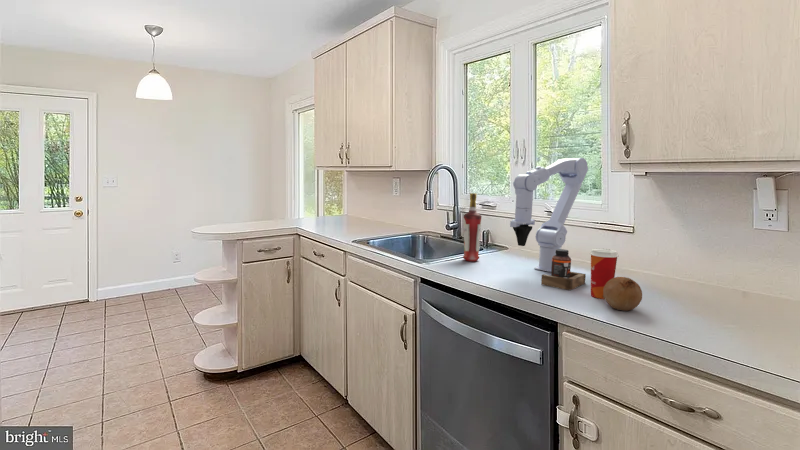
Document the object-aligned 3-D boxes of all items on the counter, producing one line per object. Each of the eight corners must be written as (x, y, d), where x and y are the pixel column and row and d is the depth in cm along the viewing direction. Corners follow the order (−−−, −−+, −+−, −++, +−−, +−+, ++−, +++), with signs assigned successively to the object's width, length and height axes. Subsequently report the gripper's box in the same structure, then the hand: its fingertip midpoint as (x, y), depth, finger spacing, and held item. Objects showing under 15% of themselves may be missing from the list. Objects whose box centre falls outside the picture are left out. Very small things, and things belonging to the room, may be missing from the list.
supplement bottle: (570, 286, 138) (572, 252, 136) (551, 284, 139) (553, 250, 138) (568, 282, 143) (570, 249, 142) (549, 280, 145) (551, 247, 144)
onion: (631, 324, 112) (645, 296, 106) (595, 308, 116) (606, 281, 111) (637, 303, 119) (650, 276, 113) (602, 289, 123) (613, 263, 117)
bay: (557, 278, 148) (557, 269, 148) (585, 283, 142) (585, 274, 141) (541, 284, 139) (541, 275, 139) (570, 290, 133) (570, 280, 132)
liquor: (461, 258, 180) (463, 192, 177) (478, 258, 180) (480, 193, 177) (463, 262, 173) (465, 193, 169) (481, 262, 173) (483, 194, 169)
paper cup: (592, 291, 132) (595, 247, 130) (619, 296, 127) (622, 250, 125) (582, 296, 127) (585, 250, 125) (609, 302, 121) (613, 254, 119)
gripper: (523, 206, 159) (521, 242, 161) (503, 208, 149) (501, 246, 150) (541, 208, 154) (538, 244, 156) (521, 209, 144) (519, 248, 146)
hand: (521, 245), depth 153 cm, fingers closed
